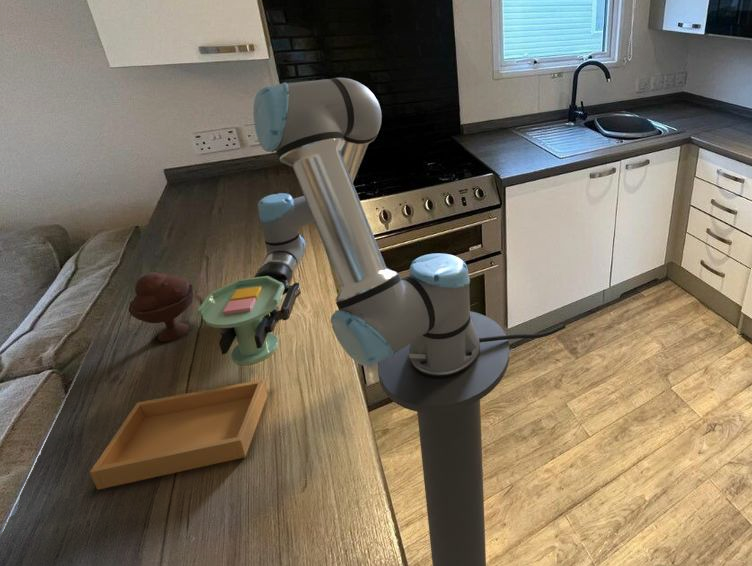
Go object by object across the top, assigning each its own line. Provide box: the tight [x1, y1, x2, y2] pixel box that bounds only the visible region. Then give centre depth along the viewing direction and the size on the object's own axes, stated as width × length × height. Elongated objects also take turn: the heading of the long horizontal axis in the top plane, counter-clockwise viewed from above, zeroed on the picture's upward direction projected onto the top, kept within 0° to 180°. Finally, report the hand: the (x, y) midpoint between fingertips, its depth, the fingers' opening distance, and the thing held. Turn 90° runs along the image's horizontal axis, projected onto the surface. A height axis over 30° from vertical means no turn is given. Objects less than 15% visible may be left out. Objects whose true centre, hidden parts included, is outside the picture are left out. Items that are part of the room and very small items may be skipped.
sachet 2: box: [223, 298, 256, 315], centre depth 82 cm, size 4×3×1 cm
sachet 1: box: [231, 286, 262, 301], centre depth 86 cm, size 4×3×1 cm
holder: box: [89, 378, 269, 490], centre depth 73 cm, size 20×13×4 cm, turn 106°
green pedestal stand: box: [196, 276, 285, 367], centre depth 86 cm, size 13×13×13 cm
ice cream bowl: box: [128, 271, 194, 343], centre depth 95 cm, size 11×11×15 cm
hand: (240, 345), depth 81 cm, fingers closed on green pedestal stand, 5 cm apart
